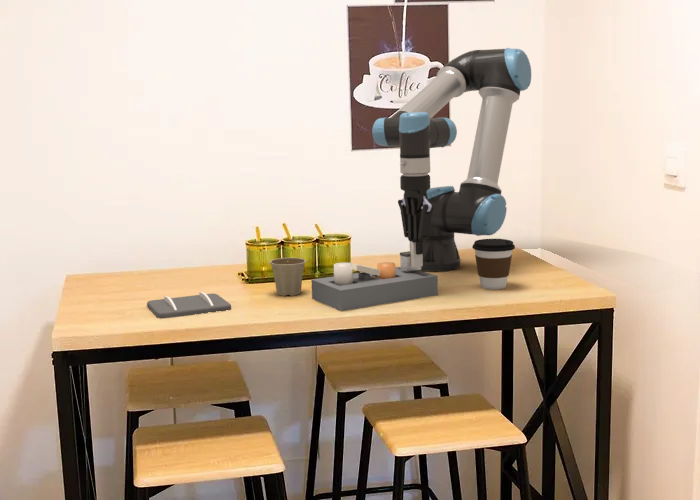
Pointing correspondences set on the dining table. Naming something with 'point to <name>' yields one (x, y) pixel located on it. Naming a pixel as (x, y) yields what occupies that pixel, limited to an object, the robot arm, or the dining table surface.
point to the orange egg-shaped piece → (386, 270)
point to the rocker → (365, 269)
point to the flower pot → (288, 275)
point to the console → (374, 289)
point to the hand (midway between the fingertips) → (416, 266)
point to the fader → (407, 262)
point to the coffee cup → (493, 262)
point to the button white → (343, 274)
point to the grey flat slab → (187, 305)
